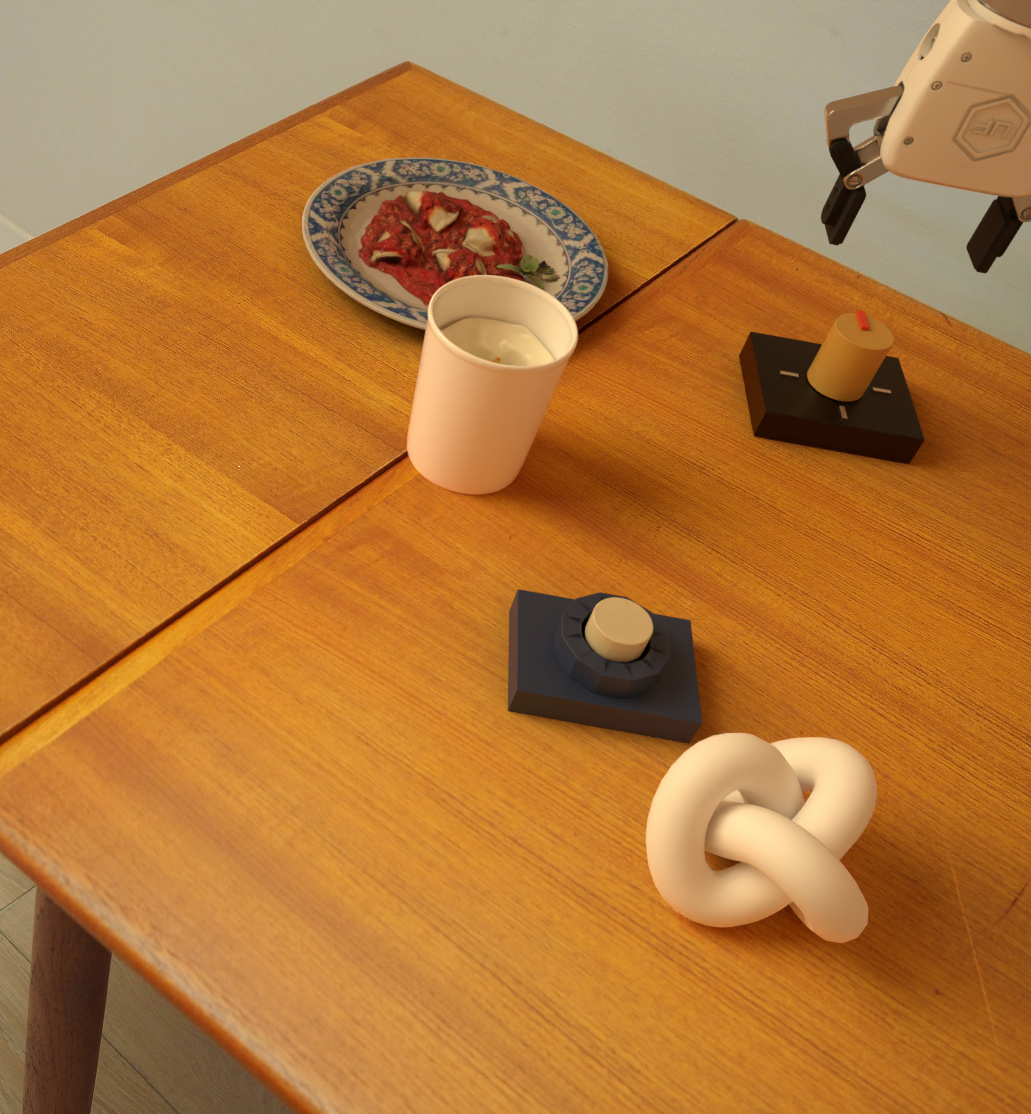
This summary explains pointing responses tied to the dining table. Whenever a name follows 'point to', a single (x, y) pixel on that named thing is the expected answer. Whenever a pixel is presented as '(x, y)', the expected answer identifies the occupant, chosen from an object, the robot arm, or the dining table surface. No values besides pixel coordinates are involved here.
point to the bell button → (618, 629)
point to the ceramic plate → (446, 235)
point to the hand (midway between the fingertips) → (903, 247)
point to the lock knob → (850, 356)
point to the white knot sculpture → (763, 832)
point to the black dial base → (826, 403)
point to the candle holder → (486, 380)
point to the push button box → (600, 671)
